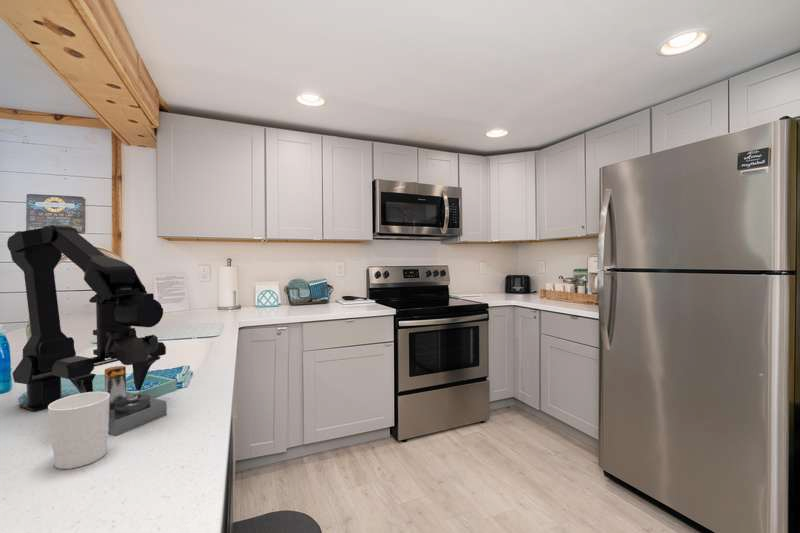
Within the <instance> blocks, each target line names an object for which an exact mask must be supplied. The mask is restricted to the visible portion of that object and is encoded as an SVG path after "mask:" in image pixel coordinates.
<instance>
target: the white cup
mask: <svg viewBox="0 0 800 533" xmlns="http://www.w3.org/2000/svg"><path fill="white" fill-rule="evenodd" d="M63 397H64V398H61V399H59V400H56V401H54V402H52V403H51V404H49V406H48V407H47V410H48V421H49V422H48V424H49V436H50V442H51V449H52V454H53V463H54V464H53V465H54V468H57V469H59V470H71V469H76V468H80V467H83V466H86V465H89V464H92V463H94V462H96V461H98V460H100V459H102V458H103V457H104V455H106V454H107V452H108V438H109V437H108V436H109V434H108V430H109V409H110V394H109V393H107V392H105V391H93V392H87V393H80V392H79V393H77V394H75V393H74V394H71V395H69V396H63Z"/></svg>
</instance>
